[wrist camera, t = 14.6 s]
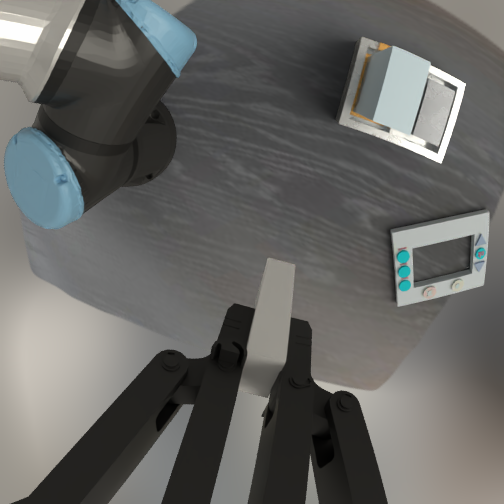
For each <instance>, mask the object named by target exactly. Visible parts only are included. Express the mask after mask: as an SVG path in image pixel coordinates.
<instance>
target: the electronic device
mask: <svg viewBox="0 0 504 504" xmlns="http://www.w3.org/2000/svg"><path fill="white" fill-rule="evenodd" d="M390 231H391V239H392V249H393V259H394V271H395V286H396V303H397V306H398V307H399V306H403V305H408V304H412V303H417V302H421V301H425V300H429V299H433V298H437V297H441V296H445V295H449V294H453V293H457V292H461V291H464V290H468V289H471V288H475V287H479V286H482V285H484V277H485V270H486V261H487V249H488V235H489V211H488V210H486V209H485V210H480V211H475V212H471V213H466V214H461V215H457V216H452V217H447V218H442V219H438V220H433V221H428V222H424V223H419V224H414V225H409V226H405V227H400V228H395V229H390ZM469 235H471V257H470V264H469V265H468V268H466V270H464V271H460V272H456V273H452V274H448V275H444V276H440V277H436V278H432V279H427V280H423V281H419V282H414V283H413V257H412V248H416V247H421V246H425V245H430V244H434V243H439V242H443V241H447V240H452V239H456V238H460V237H465V236H469Z"/></svg>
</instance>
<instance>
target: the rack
mask: <svg viewBox="0 0 504 504" xmlns="http://www.w3.org/2000/svg"><path fill="white" fill-rule="evenodd" d="M389 47H391V46H388V45H386V44H383V43H378V42H375V41H373V40H370V39H367V38H364V37H361V38H360V39H359V40H358V41H357V42H356V44H355V48H354V52H353V56H352V60H351V64H350V68H349V72H348V75H347V79H346V83H345V86H344V90H343V94H342V97H341V101H340V105H339V108H338V112H337V115H336V119H335V120H336V121H337V122H338V123H339V124H341V125H344V126H347V127H350V128H353V129H356V130H359V131H362V132H365V133H368V134H371V135H373V136H376V137H379V138H382V139H384V140H387V141H389V142H392V143H395V144H397V145H400V146H402V147H405V148H407V149H409V150H412V151H414V152H417V153H419V154H421V155H424V156H426V157H428V158H430V159H433V160H435V161H437V162H439V163H442V160H443V157H444V154H445V152H446V149H447V146H448V143H449V140H450V137H451V134H452V131H453V128H454V124H455V121H456V118H457V114H458V111H459V108H460V104H461V100H462V97H463V93H464V89H465V85H466V84H465V83H463V82H461V81H459V80H458V79H456V78H454V77H452V76H450V75H449V74H447V73H445V72H443V71H441V70H439V69H437V68H435V67H433V66H431V65H430V68H429V72H428V76H427V80H426V84H425V87H424V91H423V95H422V98H421V102H420V105H419V109H418V112H417V115H416V118H415V122H414V125H413V128H412V131H411V134H410V136H409V135H407V134H405V133H402V132H400V131H397V130H395V129H392V128H390V127H387V126H385V125H382V124H379V123H377V122H374V121H372V120H370V119H368V118H366V117H364V116H362V115H360V114H357V113H355V112H353V110H354V107H355V103H356V100H357V96H358V93H359V89H360V86H361V82H362V78H363V74H364V71H365V67H366V63H367V59H368V57H369V56H371V55H373V54H375V53H377V52H380V51H382V50H384V49H386V48H389Z"/></svg>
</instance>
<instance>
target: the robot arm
mask: <svg viewBox="0 0 504 504" xmlns="http://www.w3.org/2000/svg"><path fill="white" fill-rule="evenodd" d="M196 46H197V39H196V36H195V34H194V32H193V31H192V30H191V29H189V28H188V27H187V26H186V25H184V24H183V23H182V22H180V21H179V20H178V19H176V18H175V17H174V16H172V15H171V14H170V13H168V12H167V11H165V10H164V9H163V8H161V7H160V6H158V5H157V4H155V3H154V2H152V1H151V0H0V80H4V81H11V82H17V83H18V84H19V85H20V86H21V87H22V89H23V91H24V93H25V95H26V97H27V99H28V101H29V102H33V103H39V104H41V106H40V108H39V111H38V113H37V116H36V119H35V122H34V124H33V125H32V127H28V128H23V129H21V130H20V131H19V132H18V133H17V134H16V135H14V136H13V137H12V138H11V139H10V141H9V143H8V145H7V147H6V151H5V158H4V169H5V176H6V180H7V184H8V187H9V189H10V191H11V195H12V197H13V199H14V201H15V202H16V204H17V206H18V207H19V208H20V210H21V211H22V212H23V213H24V214H25V216H26V217H27V218H29V219H30V220H31V221H32V222H33V223H35V224H36V225H38V226H40V227H43V228H46V229H51V228H52V229H59V228H62V227H64V226H66V225H67V224H69V223H71V222H73V221H75V220H77V219H79V218H80V217H81V215H82V214H84V213H85V212H86V211H88V210H89V209H90V208H92V207H93V206H94V205H96V204H97V203H99V202H100V201H101V200H103V199H104V198H106V197H107V196H108V195H110V194H111V193H113V192H114V191H116V190H117V189H119V188H120V187H129V186H139V185H142V184H145V183H147V182H149V181H151V180H153V179H154V178H156V177H157V176H158V175H160V174H161V173H162V172H163V171H164V170H165V169H166V168H167V166H168V165H169V163H170V162H171V160H172V158H173V155H174V152H175V148H176V128H175V124H174V121H173V118H172V116H171V114H170V112H169V111H168V109H167V108H166V106H165V105H164V104H163V103H162V102H161V101H160V99H161V98H162V96H163V95H164V93H165V92H166V91H167V89H168V88H169V86H170V85H171V83H172V82H173V81H174V79H175V78H179V76H180V71H181V70H182V68H183V67H184V65H185V64H186V63H187V61H188V60H189V58H190V57H191V55H192V54H193V53H194V51H195V49H196ZM294 274H295V265H294V264H290V263H287V262H283V261H279V260H276V259H272V258H268V259H267V262H266V266H265V269H264V273H263V276H262V280H261V283H260V287H259V290H258V293H257V297H256V301H255V305H254V308H250V307H247V306H243V305H239V304H236V303H234V304H233V305H232V306H231V307H230V308H229V309H228V310H227V313H226V316H225V319H224V322H223V325H222V328H221V331H220V334H219V337H218V340H217V341H215V343H214V344H213V346H212V349H211V354H210V355H208V356H207V357H204V358H199V359H188V358H186V357H185V356H184V355H183V354H182V353H181V352H178V351H176V350H164V351H161V352H160V353H158V354H157V355H156V356H155V357H154V358H153V359H152V360H151V362H150V363H149V364H148V365H147V366H146V367H145V368H144V369H143V370H142V371H141V373H140V374H139V375H138V376H137V377H136V378H135V379H134V380H133V381H132V382H131V384H130V385H129V386H128V387H127V388H126V389H125V390H124V391H123V392H122V394H121V395H120V396H119V397H118V398H117V399H116V400H115V401H114V403H113V404H112V405H111V406H110V407H109V408H108V409H107V410H106V411H105V412H104V413H103V415H102V416H101V417H100V418H99V419H98V420H97V421H96V422H95V423H94V425H93V426H92V427H91V428H90V429H89V430H88V431H87V432H86V433H85V434H84V436H83V437H82V438H81V439H80V440H79V441H78V442H77V443H76V444H75V446H74V447H73V448H72V449H71V450H70V451H69V452H68V453H67V455H65V457H64V458H63V459H62V460H61V461H60V462H59V463H58V464H57V465H56V467H55V468H54V469H53V470H52V471H51V472H50V473H49V474H48V476H47V477H46V478H45V479H44V480H43V481H42V482H41V483H40V484H39V485H38V487H37V488H36V489H35V490H34V491H33V492H32V493H31V494H30V495H29V497H26V498H24V499H21V500H19V501H16V502H14V503H11V504H108V503H109V501H110V500H111V499H112V498H113V496H114V495H115V494H116V493H117V491H118V490H119V489H120V487H121V486H122V485H123V484H124V482H125V481H126V480H127V479H128V477H129V476H130V475H131V473H132V472H133V471H134V469H135V468H136V467H137V466H138V464H139V463H140V462H141V460H142V459H143V458H144V456H145V455H146V454H147V452H148V451H149V450H150V448H151V447H152V446H153V444H154V443H155V442H156V440H157V439H158V437H159V436H160V435H161V434H162V432H163V431H164V430H165V428H166V427H167V425H168V424H169V423H170V422H171V420H172V419H173V418H174V416H175V415H176V414H177V412H178V411H179V409H180V408H181V407H182V405H183V404H194V407H193V410H192V413H191V416H190V419H189V422H188V425H187V428H186V431H185V434H184V437H183V440H182V443H181V446H180V449H179V452H178V455H177V458H176V461H175V464H174V467H173V470H172V473H171V476H170V479H169V482H168V485H167V488H166V491H165V494H164V497H163V500H162V503H161V504H210V501H211V498H212V493H213V490H214V486H215V482H216V478H217V474H218V470H219V466H220V462H221V458H222V454H223V450H224V446H225V442H226V438H227V434H228V430H229V426H230V422H231V417H232V413H233V409H234V405H235V401H236V397H237V392H238V391H242V392H245V393H250V394H254V395H258V396H262V397H267V398H268V396H269V394H270V398H269V403H268V405H267V406H266V408H265V410H264V411H263V414H262V417H264V421H263V426H262V431H261V437H260V443H259V448H258V453H257V459H256V464H255V469H254V474H253V479H252V485H251V490H250V495H249V500H248V504H305V500H306V491H307V481H308V471H309V459H310V455H311V460H312V466H313V472H314V477H315V482H316V488H317V494H318V500H319V504H388V502H387V498H386V495H385V490H384V487H383V483H382V479H381V475H380V472H379V468H378V464H377V461H376V457H375V454H374V450H373V447H372V443H371V440H370V436H369V433H368V430H367V426H366V423H365V420H364V416H363V413H362V410H361V407H360V403H359V401H358V399H357V398H356V397H355V396H354V395H353V394H352V393H349V392H347V391H337V392H335V393H334V394H332V393H330V392H328V391H326V390H324V389H322V388H321V387H319V386H318V385H317V384H316V383H315V382H314V380H313V378H312V376H311V346H312V340H311V339H312V329H311V327H310V325H309V323H308V321H304V320H299V319H295V318H291V309H292V298H293V286H294Z"/></svg>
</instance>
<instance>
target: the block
mask: <svg viewBox="0 0 504 504" xmlns="http://www.w3.org/2000/svg"><path fill="white" fill-rule="evenodd" d="M430 64H431V62H429V61H427V60H425V59H423V58H421V57H418V56H416V55H414V54H412V53H410V52H407V51H405V50H403V49H400V48H398V47H396V46H391V47H389V48H386V49H384V50H382V51H380V52H377V53H375V54H373V55H371V56H369V57H368V59H367V63H366V67H365V71H364V74H363V78H362V82H361V86H360V89H359V93H358V96H357V100H356V103H355V107H354V110H353V112H355V113H357V114H360V115H362V116H364V117H366V118H368V119H370V120H372V121H374V122H377V123H379V124H382V125H385V126H387V127H390V128H392V129H395V130H397V131H400V132H402V133H405V134H407V135H409V136H410V134H411V131H412V128H413V125H414V122H415V118H416V115H417V112H418V109H419V105H420V102H421V98H422V95H423V91H424V87H425V84H426V80H427V76H428V72H429V68H430Z"/></svg>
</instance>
